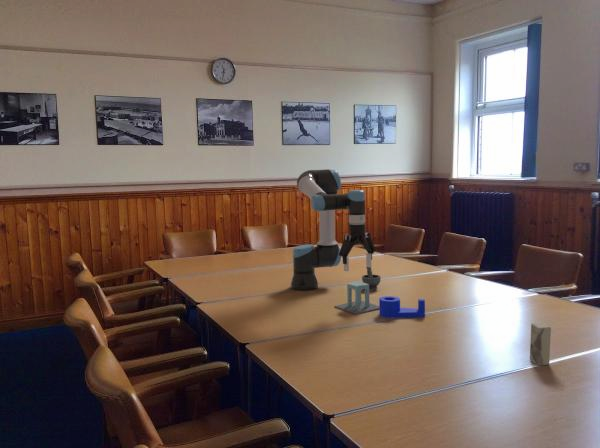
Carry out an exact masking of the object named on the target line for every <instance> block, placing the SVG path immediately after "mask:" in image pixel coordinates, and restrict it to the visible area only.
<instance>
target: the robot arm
mask: <svg viewBox="0 0 600 448" xmlns="http://www.w3.org/2000/svg"><path fill="white" fill-rule="evenodd" d="M296 187H297V189H298V190H299V192H301V193H302V194H305V195H306V196H307V197H308V198H309V199H310V205H311V209H312V211H315V212H317V211H318V212H319V213H318V218H319V220H318V222H319V230H318V231H319V240H318V241H317V242H316V246H315V245H314V244H302V245H298V246H295V247H294V248H293V249H292V250H293V251H292V261H293V262H292V263H293V265H292V266H293V268H292V269H293V276H292V279H291V283H290V288H291V289H292V290H296V291H309V290H311V291H312V290H315V289H318V287H319V282H318V280H317V277H316V272H315V269H317V268H320V269H321V268H332V267H337V266H339V265H340V263H341V262H342V264H343V271H345V272H349V271H350V263H349V262H350V260H349V259H350V257H349V254H350V253H351V250H352V249H353V247H354V246H356V245H359V244H361V245H362V247H363V248H364V250H365V251H366V253H365V255H366V256H365V258H366V259H365V261H366V262H365V264H366V265H365V266H366V267H371V268H372V260H373V254H375V252H376V250H377V249H376V247H375V245H374V241H373V240H372V238H371V233H370V232H366V193H365V191H364V190H363V189H352V190H349V191H348V192H345V193H339V194H338V192H339V191H340V190H341V187H342V181H341V176H340V174H339V172H338V170H336V169H330V168H328V169H311V170H310V169H309V170H305V171H304V172H302V173H300V174H299V176H298V177H297V180H296ZM339 210H340V211H342V210H343V211H344V210H348V223H349V225H348V232H349V235H347V234H345V235H344V237H343V242H342V244H341V246H340V245H339V242H338V241H337V240H336V225H335V224H336V220H335V219H336V214H335V211H339ZM341 260H342V261H341ZM366 267H365V268H366Z"/></svg>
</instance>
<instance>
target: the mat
mask: <svg viewBox="0 0 600 448" xmlns="http://www.w3.org/2000/svg"><path fill="white" fill-rule="evenodd" d="M334 308H335V309H338V310H341V311H344V312H347V313H350V314H354V315H356V316H357V315H361V314H365V313H370V312H373V311H380V310H379V305H377V304H373V303H371V302H369V307H365V300H361V305H360V309H358V310H357V309H356V306H355V301H352V306H351V307H348V302H347V303H343V304H338V305H334Z"/></svg>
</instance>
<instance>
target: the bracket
mask: <svg viewBox="0 0 600 448" xmlns="http://www.w3.org/2000/svg"><path fill="white" fill-rule="evenodd" d="M417 300H418V301H417V308H409V307H401V298H400V297H398V296H392V295H391V296H389V295H387V296H381V297H379V300H378V301H379V305H378V306H379V310H378V311H379V317H381V318H385V319H386V318H387V319H402V318H413V319H414V318H426V304H425V303H426V301H425V298H419V299H417Z"/></svg>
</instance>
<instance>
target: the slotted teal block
mask: <svg viewBox="0 0 600 448" xmlns="http://www.w3.org/2000/svg"><path fill="white" fill-rule="evenodd" d="M346 285H347V287H346V290H347V294H346V295H347V303H348V307H351V306H352V302H353V301H352V300H353V299H352V297H353V296H352V295H353V294H352V293H353V291H352V290H355V291H354V293H355V294H354V295H355V297H354V298H355V299H354V302H355V306H356V309H357V310H358V309H360V305H361V301H362V290H364V302H365V307H369V303H370V290H369V284H366V283H363V281H355V282H350V283H347V284H346Z"/></svg>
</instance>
